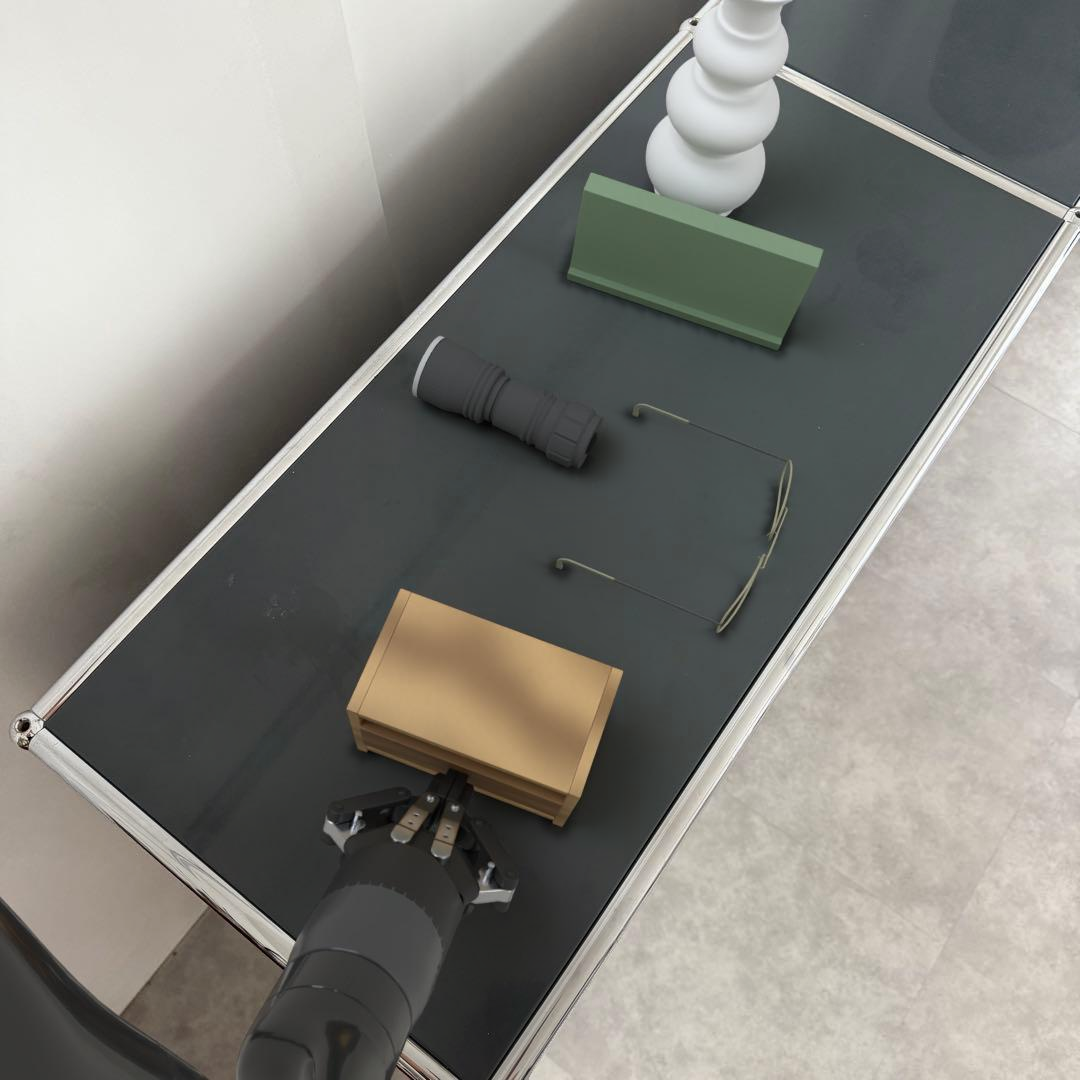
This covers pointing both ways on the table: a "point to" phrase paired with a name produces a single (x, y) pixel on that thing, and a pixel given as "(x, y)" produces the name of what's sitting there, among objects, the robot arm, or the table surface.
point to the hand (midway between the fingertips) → (455, 782)
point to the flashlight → (505, 402)
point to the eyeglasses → (635, 413)
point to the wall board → (690, 261)
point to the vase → (721, 108)
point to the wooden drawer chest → (483, 705)
